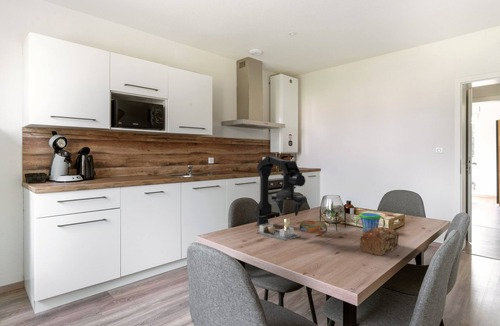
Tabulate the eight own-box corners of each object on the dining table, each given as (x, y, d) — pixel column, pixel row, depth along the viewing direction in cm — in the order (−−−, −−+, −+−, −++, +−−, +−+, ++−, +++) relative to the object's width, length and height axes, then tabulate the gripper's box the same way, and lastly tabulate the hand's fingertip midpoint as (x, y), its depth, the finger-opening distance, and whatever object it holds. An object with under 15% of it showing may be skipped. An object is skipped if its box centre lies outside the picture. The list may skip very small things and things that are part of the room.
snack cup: (355, 233, 162) (355, 215, 161) (355, 228, 172) (355, 211, 171) (386, 235, 156) (386, 217, 156) (384, 231, 166) (384, 213, 166)
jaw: (279, 237, 147) (279, 219, 147) (289, 234, 153) (289, 217, 153) (284, 238, 145) (284, 220, 145) (293, 235, 151) (293, 218, 151)
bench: (255, 235, 156) (255, 225, 156) (272, 231, 165) (272, 221, 165) (284, 243, 141) (284, 232, 141) (301, 238, 151) (301, 228, 151)
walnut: (267, 232, 157) (267, 227, 157) (271, 231, 159) (271, 226, 159) (271, 233, 154) (271, 228, 154) (276, 232, 157) (276, 227, 157)
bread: (382, 257, 123) (382, 234, 123) (358, 251, 131) (358, 229, 131) (399, 248, 135) (399, 227, 135) (377, 243, 143) (377, 223, 143)
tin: (299, 234, 159) (299, 219, 159) (301, 232, 162) (301, 218, 162) (326, 237, 152) (326, 222, 152) (327, 236, 155) (327, 221, 155)
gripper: (265, 184, 149) (264, 214, 150) (295, 187, 137) (295, 219, 137) (277, 183, 157) (277, 211, 158) (307, 185, 145) (307, 216, 145)
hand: (288, 214), depth 149 cm, fingers open, 9 cm apart
